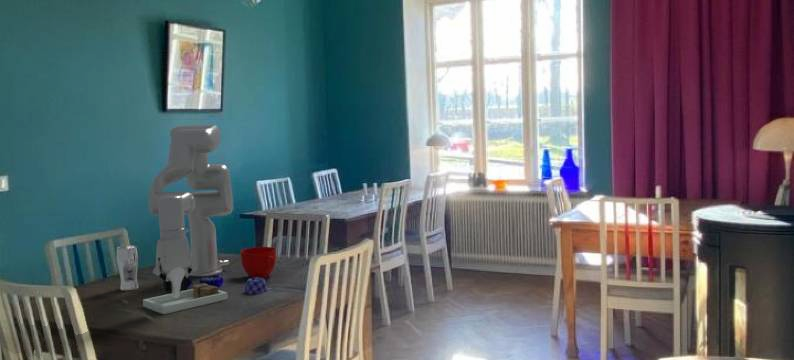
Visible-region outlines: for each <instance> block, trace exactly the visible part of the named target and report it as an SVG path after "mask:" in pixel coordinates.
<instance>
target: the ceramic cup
mask: <svg viewBox="0 0 794 360" xmlns="http://www.w3.org/2000/svg"><path fill="white" fill-rule="evenodd" d="M276 257H277V250H276V248H275V247H272V246H271V247H270V246H259V247H258V246H256V247H249V248H244V249H241V250H240V260H241V265H242V267H243V269H244V272H245V273H246V274H247V275H248V276H249V277H250V278H258V277H260V278H264V279H265V278H267V277H269V275H270V274H271V273H272V271H273V270H274V268H275V264H276Z"/></svg>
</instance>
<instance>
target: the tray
mask: <svg viewBox="0 0 794 360" xmlns="http://www.w3.org/2000/svg"><path fill="white" fill-rule="evenodd" d="M228 297H229V296H228V292H226V291H223V290H220V289H218V294H215V295H210V296H206V297H201V298H195V297H194V294H193V288H191V289H187V290H180V296H178V297H177V298H174V297H172V295H171V294H169V293H166V294H163V295H158V296H154V297H149V298H145V299H144V298H143V299H142V305H143V308H145V309H149V310H151V311H153V312H156V313H159V314H162V315H167V314H171V313H175V312H179V311H184V310H189V309H192V308H197V307H201V306H206V305H209V304H215V303H219V302H223V301H227V300H228Z"/></svg>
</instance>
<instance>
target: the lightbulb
mask: <svg viewBox="0 0 794 360" xmlns="http://www.w3.org/2000/svg"><path fill="white" fill-rule="evenodd" d="M184 275H185V271H184V269H183V268H181V267H176V268H174V269H173V270H172V271H170V272H169V274H168V276H169V279H170V280H169V281H171V283H172V293H171V295H172V297H174V298H177V297H178V296H180V292H181V290H182V289H181V282H182V280H183V278H184ZM165 276H166V273H165Z"/></svg>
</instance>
